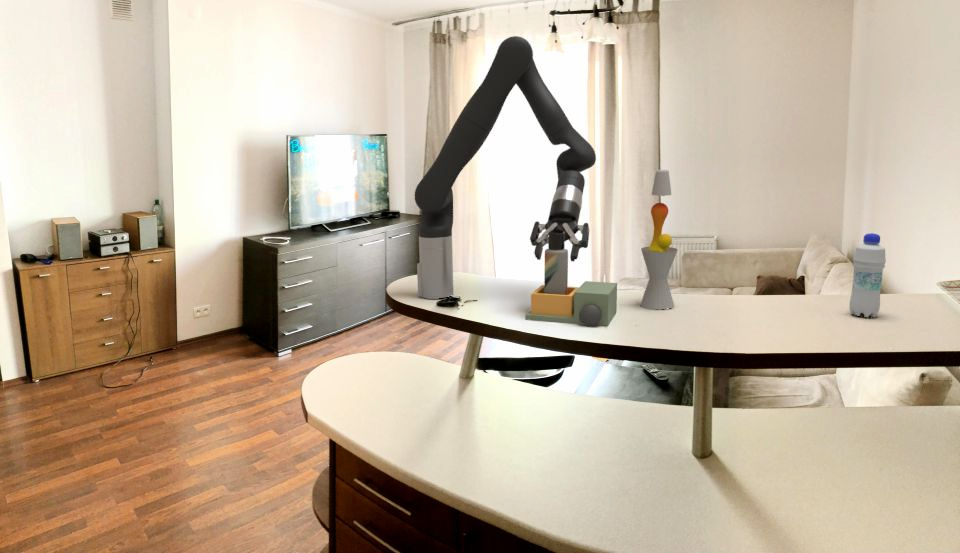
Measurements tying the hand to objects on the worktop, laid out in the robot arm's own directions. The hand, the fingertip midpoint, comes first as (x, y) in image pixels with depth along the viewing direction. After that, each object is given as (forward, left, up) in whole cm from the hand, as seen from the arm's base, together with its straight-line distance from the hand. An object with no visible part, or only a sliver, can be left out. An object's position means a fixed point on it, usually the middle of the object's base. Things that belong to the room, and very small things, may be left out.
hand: (555, 258), depth 159 cm
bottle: (+71, +22, -15) cm, 76 cm away
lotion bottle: (0, +2, -13) cm, 14 cm away
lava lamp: (+23, +18, -15) cm, 33 cm away
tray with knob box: (+4, +1, -14) cm, 15 cm away
